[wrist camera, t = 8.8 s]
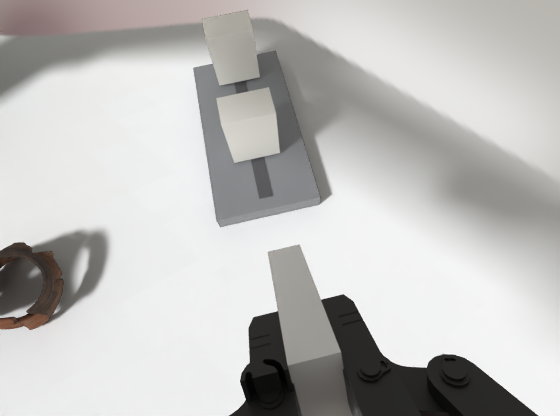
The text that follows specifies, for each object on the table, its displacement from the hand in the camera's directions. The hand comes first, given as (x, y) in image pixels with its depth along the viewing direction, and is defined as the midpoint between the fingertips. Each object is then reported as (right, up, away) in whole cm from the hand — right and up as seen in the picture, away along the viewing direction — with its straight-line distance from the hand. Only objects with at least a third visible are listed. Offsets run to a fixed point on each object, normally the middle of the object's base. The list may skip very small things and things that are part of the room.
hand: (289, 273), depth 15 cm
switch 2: (-4, +11, +24) cm, 27 cm away
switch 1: (-6, +22, +29) cm, 37 cm away
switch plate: (-4, +14, +29) cm, 32 cm away
